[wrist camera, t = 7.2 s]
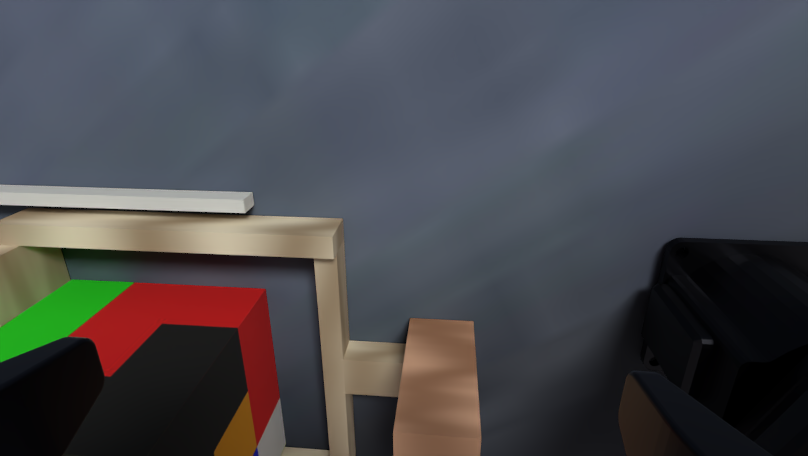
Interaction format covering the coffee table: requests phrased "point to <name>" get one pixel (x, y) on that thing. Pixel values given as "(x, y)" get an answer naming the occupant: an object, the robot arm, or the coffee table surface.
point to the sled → (342, 359)
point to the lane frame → (127, 198)
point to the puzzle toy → (166, 367)
